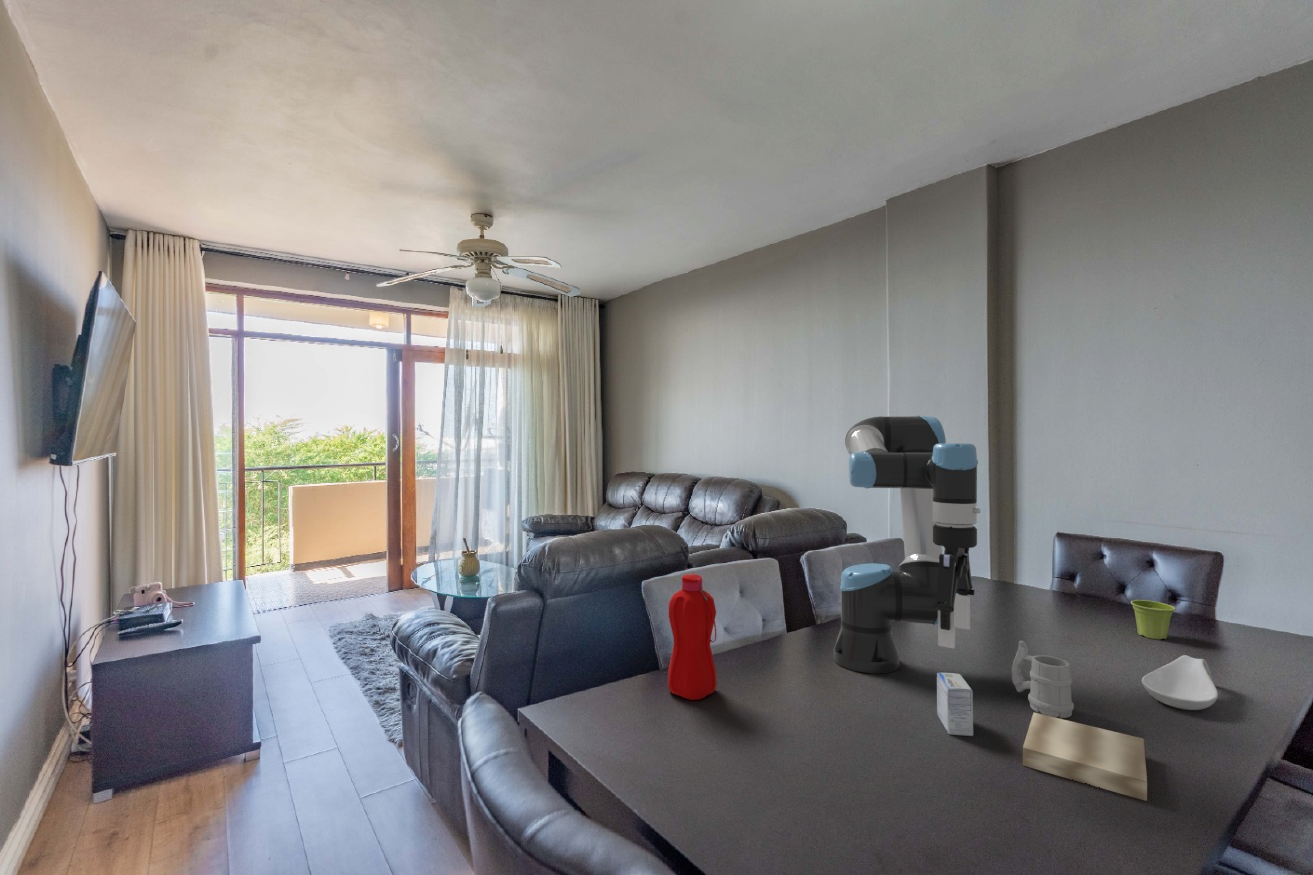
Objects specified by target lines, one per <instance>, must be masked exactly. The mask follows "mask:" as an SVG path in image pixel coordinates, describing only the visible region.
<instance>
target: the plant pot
mask: <svg viewBox="0 0 1313 875" xmlns="http://www.w3.org/2000/svg"><path fill="white" fill-rule="evenodd" d="M1130 604H1131V605H1132V608H1133V611H1134V615H1135V623H1136V629H1137V634H1138V635H1139V636H1144V637H1145V638H1147V639H1153V640H1162V639H1164V640H1167V638H1168V633H1169V628H1170V622H1171V617H1172V615H1173V614H1174V611H1175V610H1176V607H1175V606H1173V605H1171V604H1167V603H1163V602H1159V601H1153V600H1145V599H1144V600H1143V599H1134V600H1130Z"/></svg>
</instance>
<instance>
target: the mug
mask: <svg viewBox="0 0 1313 875" xmlns="http://www.w3.org/2000/svg"><path fill="white" fill-rule="evenodd" d="M1029 653H1030V652H1029V647H1028V645H1027V643H1025V641H1024V640H1019V641H1018V648H1017V651H1016V654H1015V656H1014V658H1013V661H1012V662H1013V663H1012V666H1011V680H1012V683H1013V684H1012V685H1014V687H1015V689H1016V691H1017V692H1018V693H1022V692H1024V691H1025V690H1030V692H1029V693H1028V696H1027V700H1028V701H1029V707H1030V708H1031V709H1032V710H1033V711H1034V712H1035V713H1039V714H1042V715H1047V716H1051V717H1055V718H1059V719H1066V718H1067V719H1068V718H1070V717H1071V716H1072V715H1073V710H1074V708H1075V704H1074V702H1073V701H1072V688H1071V687H1072V686H1071V685H1073V678H1072V676H1071V664H1070V663H1069V662H1068V661H1067V660H1065V659H1062V658H1060V657H1056V656H1052V655H1046V654H1045V655H1042V654H1037V655H1031V654H1029ZM1026 662H1031V669H1030V670H1029V677H1030V680H1026V678H1024V677H1025V676H1024V675H1023V674H1022V670H1023V668H1022V666H1023V665H1024V664H1025V663H1026Z"/></svg>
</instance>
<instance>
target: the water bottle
mask: <svg viewBox="0 0 1313 875" xmlns="http://www.w3.org/2000/svg"><path fill="white" fill-rule="evenodd" d="M680 580H681V589H680V590H678V591H677V592H675V593H673V595H672V596H671V598H670V600H669V603H668V620H669V624H670V629H671V633H672V637H673V638H672V639H673V640H672V641H673V647H672V650H671V656H670V661H669V665H668V672H667V674H668V675H667V687H668V690H669V692H671V694H672V695H673V694H674V695H675V696H679V697H681V698H684V699H687V700H689V701H699V700H702V699H704V698H706V697H708V696H709V695H711V694H713V693H714V691H716V688H717V670H716V665H715V661H714V660H715V659H714V656H713V651H712V647H711V643H715V642H716V640H717V626H716V616H717V609H716V606H715V605H716V604H715V600H714V598H713V596H712V595H711V594H710V593H709V592H707V591H705V590H704V589H703V588H704V587H703V577H702V576H701V574H700V575H699V574H695V573H694V574H684V575H682V577H681V579H680ZM713 630H714V640H712V639H711V638H712V635H713Z"/></svg>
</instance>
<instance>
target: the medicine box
mask: <svg viewBox="0 0 1313 875" xmlns="http://www.w3.org/2000/svg"><path fill="white" fill-rule="evenodd" d="M973 697H974V696H973V689H972V688H971V686H969V683H967V681H966V680H965V679H964V678H963V676H962V674H960V673H953V672H937V673H936V716H937V717H938V718H939V720H940V722H941V724H942V725H943V726H944V728H945V731H947V734H948V735H953V736H964V737H967V736H968V737H973V736H974V708H973V706H974V702H973Z"/></svg>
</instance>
